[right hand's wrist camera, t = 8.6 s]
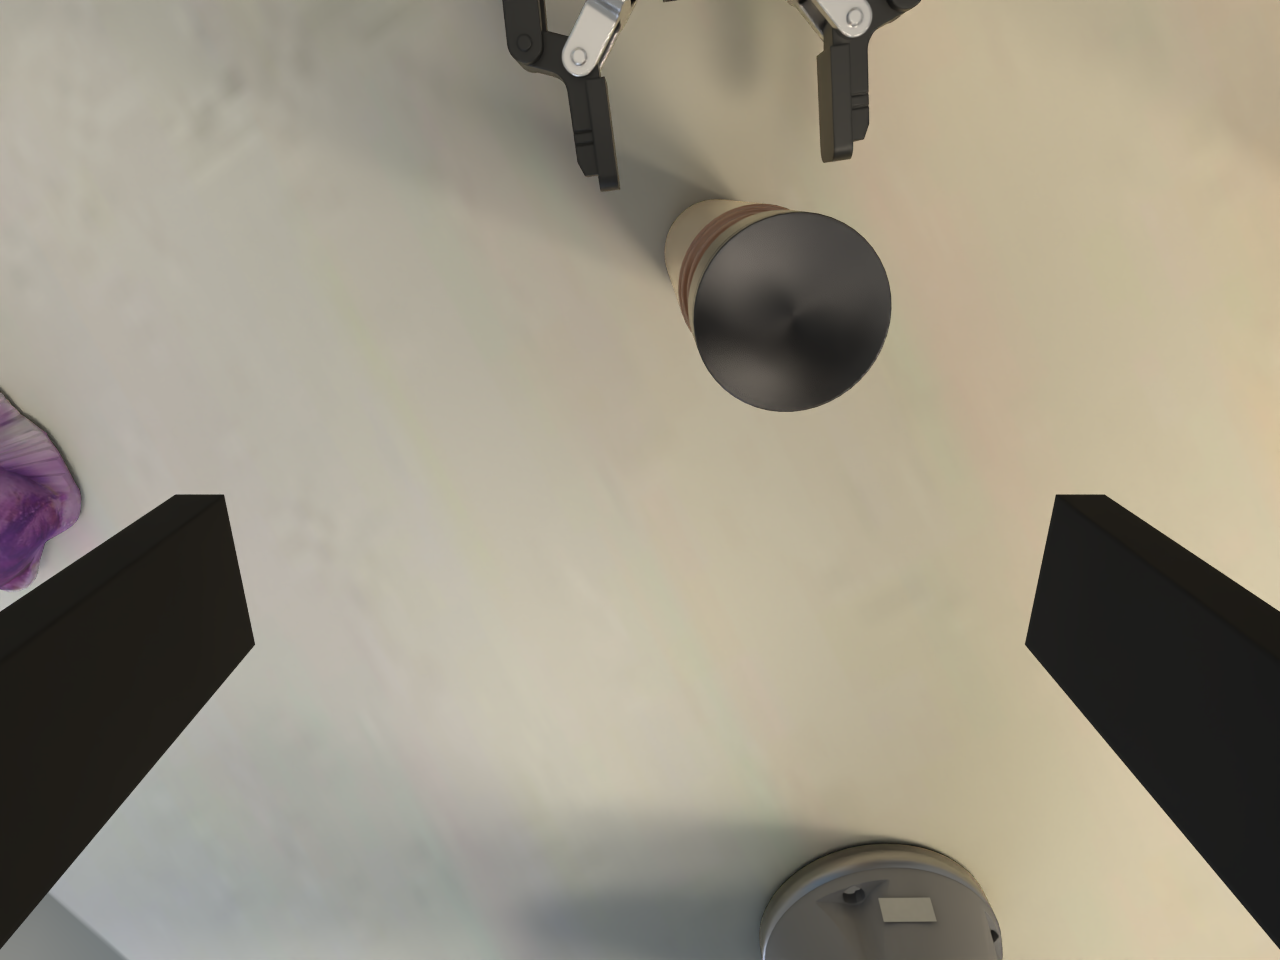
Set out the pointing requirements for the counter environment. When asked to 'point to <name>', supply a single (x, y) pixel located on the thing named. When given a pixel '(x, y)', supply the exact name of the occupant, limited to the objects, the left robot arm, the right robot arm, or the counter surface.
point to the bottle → (701, 239)
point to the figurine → (30, 497)
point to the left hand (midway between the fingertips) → (723, 175)
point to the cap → (789, 309)
